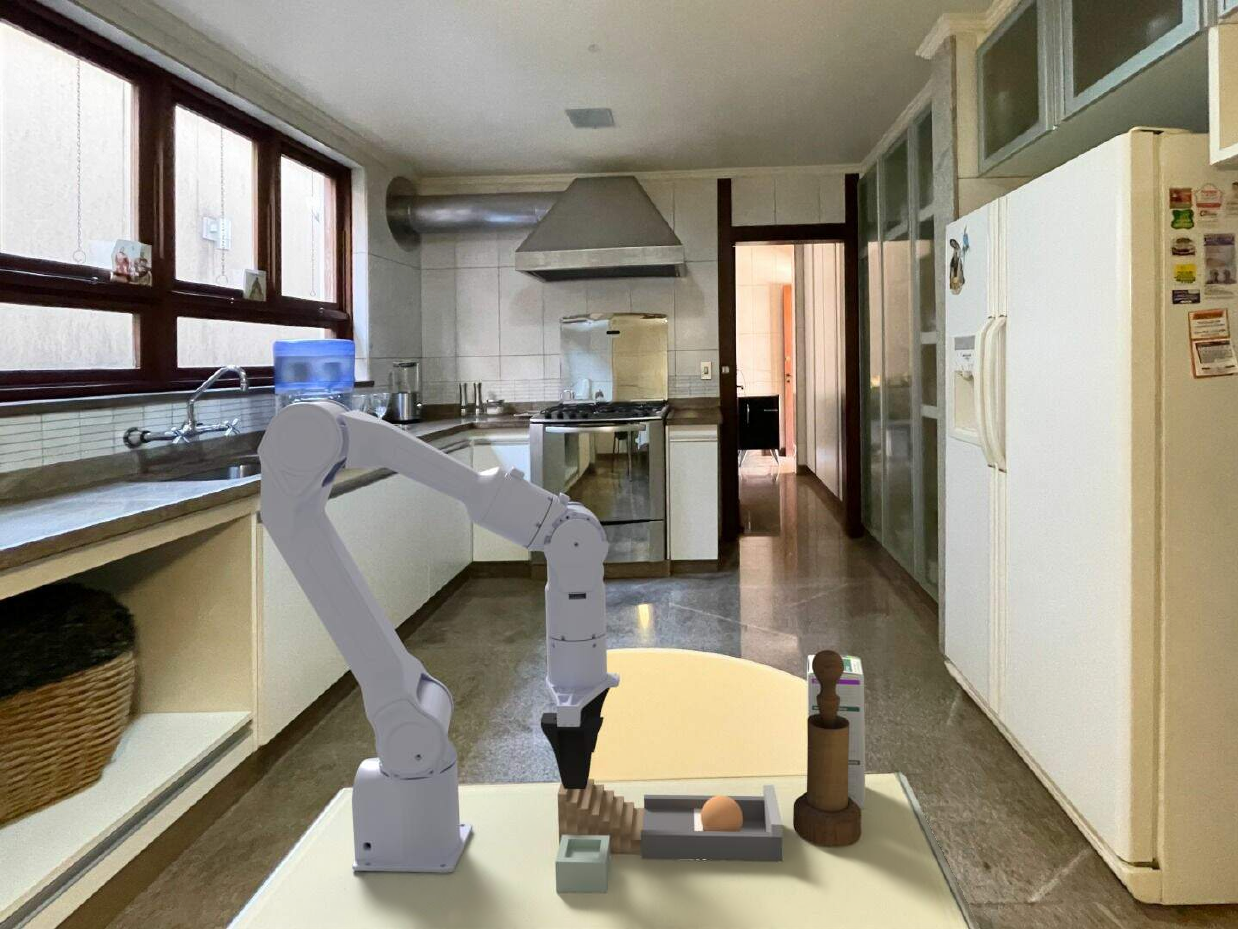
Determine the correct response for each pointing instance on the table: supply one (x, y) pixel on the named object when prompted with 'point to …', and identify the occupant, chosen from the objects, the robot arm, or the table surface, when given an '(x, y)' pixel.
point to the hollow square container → (583, 864)
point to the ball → (721, 815)
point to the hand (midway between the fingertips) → (580, 768)
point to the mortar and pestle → (827, 766)
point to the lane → (682, 836)
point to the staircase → (600, 817)
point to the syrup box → (853, 711)
